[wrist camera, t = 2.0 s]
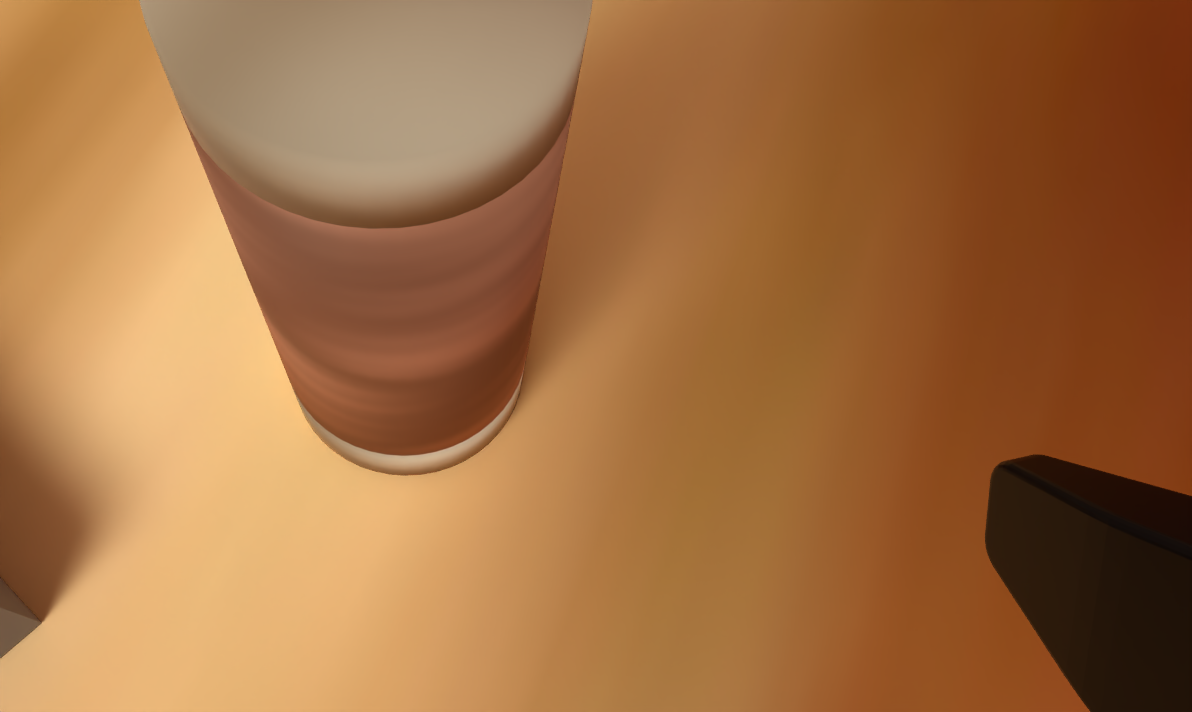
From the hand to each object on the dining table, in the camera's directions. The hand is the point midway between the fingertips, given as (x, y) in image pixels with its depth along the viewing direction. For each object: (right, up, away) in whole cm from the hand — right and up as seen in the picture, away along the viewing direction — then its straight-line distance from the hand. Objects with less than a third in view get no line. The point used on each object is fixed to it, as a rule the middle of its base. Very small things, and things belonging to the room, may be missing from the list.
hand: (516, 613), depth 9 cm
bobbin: (-3, +2, +15) cm, 15 cm away
